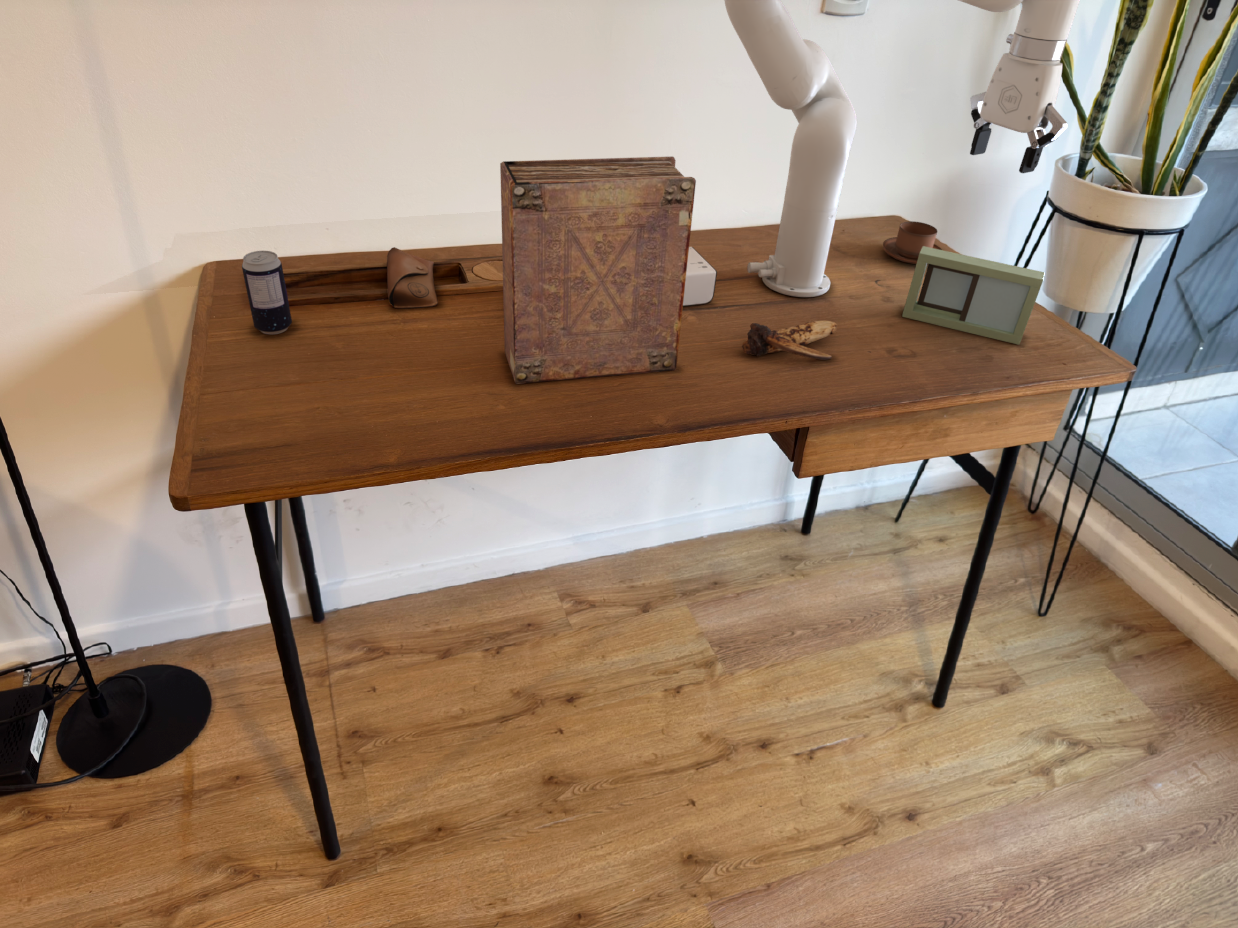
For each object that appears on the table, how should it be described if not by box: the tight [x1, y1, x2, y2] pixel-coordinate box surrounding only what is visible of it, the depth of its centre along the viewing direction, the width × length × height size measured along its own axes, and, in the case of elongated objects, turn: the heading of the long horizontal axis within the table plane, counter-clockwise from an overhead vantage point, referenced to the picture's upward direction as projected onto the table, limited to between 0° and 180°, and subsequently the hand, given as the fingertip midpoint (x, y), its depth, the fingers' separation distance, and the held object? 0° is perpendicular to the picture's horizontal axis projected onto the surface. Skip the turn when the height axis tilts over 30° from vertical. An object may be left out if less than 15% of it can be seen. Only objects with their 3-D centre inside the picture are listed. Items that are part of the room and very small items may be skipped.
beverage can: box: [241, 250, 293, 335], centre depth 136 cm, size 6×6×12 cm
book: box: [499, 155, 697, 385], centre depth 128 cm, size 25×9×30 cm, turn 106°
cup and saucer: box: [882, 220, 943, 265], centre depth 177 cm, size 12×12×6 cm
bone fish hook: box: [741, 319, 838, 361], centre depth 143 cm, size 9×5×18 cm
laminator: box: [683, 246, 718, 308], centre depth 154 cm, size 34×12×6 cm, turn 110°
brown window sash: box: [917, 264, 974, 315], centre depth 156 cm, size 9×7×8 cm
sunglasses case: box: [386, 246, 439, 309], centre depth 154 cm, size 18×7×7 cm, turn 13°
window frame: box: [901, 246, 1045, 346], centre depth 152 cm, size 20×4×12 cm, turn 65°
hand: (1001, 162), depth 144 cm, fingers open, 9 cm apart
